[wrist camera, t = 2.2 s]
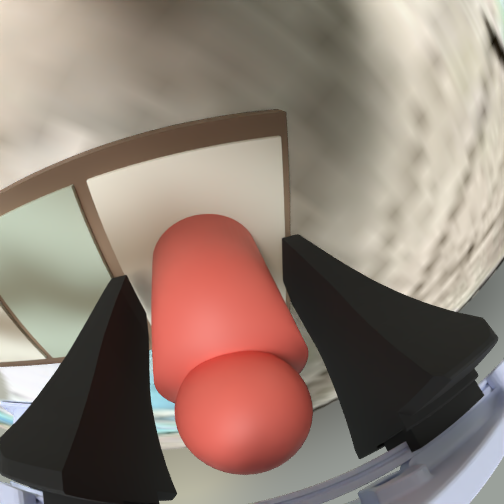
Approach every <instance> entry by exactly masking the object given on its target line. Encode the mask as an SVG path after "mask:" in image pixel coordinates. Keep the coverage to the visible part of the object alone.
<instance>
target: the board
mask: <svg viewBox="0 0 504 504" xmlns="http://www.w3.org/2000/svg"><path fill="white" fill-rule="evenodd" d="M200 214H218V215H223V216H226V217H229V218H232V219H234V220H236V221H238V222H239V223H240V224H242V225H243V226H244V227H245V228H246V229H247V230H248V231H249V233H250V234H251V236H252V237H253V239H254V241H255V243H256V245H257V247H258V249H259V251H260V253H261V255H262V257H263V259H264V261H265V263H266V265H267V267H268V269H269V271H270V273H271V275H272V277H273V279H274V281H275V283H276V285H277V287H278V289H279V291H280V293H281V295H282V297H283V299H284V301H285V303H286V305H287V307H288V309H289V311H290V297H289V295H288V293H287V290H286V288H285V285H284V283H283V269H282V238H284V237H288V236H290V190H289V160H288V137H287V118H286V112H285V111H282V110H278V109H274V110H264V111H255V112H246V113H239V114H232V115H225V116H219V117H213V118H207V119H202V120H196V121H191V122H187V123H182V124H177V125H173V126H169V127H164V128H160V129H156V130H152V131H149V132H145V133H141V134H138V135H134V136H131V137H127V138H124V139H121V140H118V141H114V142H111V143H108V144H105V145H102V146H99V147H96V148H94V149H91V150H88V151H85V152H83V153H80V154H77V155H75V156H72V157H70V158H67V159H65V160H62V161H60V162H58V163H55V164H53V165H51V166H48V167H46V168H44V169H42V170H40V171H38V172H35V173H33V174H31V175H29V176H27V177H25V178H23V179H21V180H19V181H17V182H15V183H13V184H12V185H10V186H8V187H6V188H4V189H2V190H1V191H0V367H9V366H28V365H41V364H53V363H62V361H63V360H64V358H65V357H66V355H67V353H68V352H69V350H70V349H71V347H72V345H73V344H74V342H75V340H76V338H77V337H78V335H79V333H80V332H81V330H82V328H83V327H84V325H85V323H86V321H87V320H88V318H89V316H90V314H91V312H92V311H93V309H94V307H95V305H96V304H97V302H98V300H99V298H100V297H101V295H102V293H103V291H104V290H105V288H106V286H107V285H108V283H109V282H110V280H111V279H112V278H115V277H119V276H123V275H127V276H128V278H129V281H130V283H131V285H132V287H133V289H134V291H135V293H136V295H137V296H138V298H139V300H140V302H141V304H142V306H143V308H144V310H145V312H146V314H147V323H148V333H149V350H152V328H151V290H152V260H153V252H154V249H155V246H156V244H157V242H158V240H159V238H160V237H161V236H162V234H163V233H164V232H165V231H166V230H167V229H168V228H169V227H171V226H172V225H173V224H175V223H177V222H178V221H180V220H182V219H185V218H187V217H191V216H194V215H200Z"/></svg>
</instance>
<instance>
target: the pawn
mask: <svg viewBox="0 0 504 504" xmlns="http://www.w3.org/2000/svg"><path fill="white" fill-rule="evenodd" d="M151 328H152V357H153V374H154V385H155V387H156V389H157V391H158V392H159V393H160V394H161V395H162V396H163V397H164V398H166V399H167V400H169V401H171V402H173V403H175V421H176V425H177V429H178V431H179V434H180V436H181V438H182V440H183V442H184V443H185V445H186V446H187V448H188V449H189V450H190V451H191V452H192V453H193V454H194V455H195V456H196V457H197V458H198V459H199V460H201V461H202V462H204V463H205V464H207V465H209V466H211V467H212V468H215V469H217V470H220V471H223V472H227V473H231V474H240V475H241V474H242V475H248V474H258V473H262V472H266V471H269V470H271V469H274V468H276V467H278V466H280V465H282V464H283V463H285V462H286V461H287V460H289V459H290V458H291V457H292V456H294V455H295V454H296V453H297V451H298V450H299V449H300V448H301V446H302V445H303V443H304V442H305V440H306V438H307V436H308V434H309V431H310V427H311V424H312V416H313V407H312V401H311V396H310V393H309V391H308V388H307V386H306V384H305V382H304V380H303V379H302V378H301V376H300V375H299V373H300V372H301V371H302V370H303V368H304V367H305V364H306V362H307V359H308V348H307V346H306V344H305V342H304V340H303V338H302V336H301V334H300V332H299V329H298V327H297V325H296V323H295V321H294V319H293V317H292V315H291V313H290V311H289V309H288V307H287V305H286V303H285V301H284V299H283V297H282V295H281V293H280V291H279V289H278V287H277V285H276V283H275V281H274V279H273V277H272V275H271V273H270V271H269V269H268V267H267V265H266V263H265V261H264V259H263V257H262V255H261V253H260V251H259V249H258V247H257V245H256V243H255V241H254V239H253V237H252V236H251V234H250V233H249V231H248V230H247V229H246V228H245V227H244V226H243V225H242V224H240V223H239V222H238V221H236V220H234V219H232V218H229V217H226V216H223V215H218V214H200V215H194V216H191V217H187V218H185V219H182V220H180V221H178V222H177V223H175V224H173V225H172V226H171V227H169V228H168V229H167V230H166V231H165V232H164V233H163V234H162V236H161V237H160V238H159V240H158V242H157V244H156V246H155V249H154V252H153V260H152V290H151Z"/></svg>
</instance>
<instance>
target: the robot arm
mask: <svg viewBox="0 0 504 504" xmlns="http://www.w3.org/2000/svg"><path fill="white" fill-rule="evenodd" d="M282 269H283V283H284V285H285V288H286V290H287V293H288V295H289V297H290V300H291V302H292V304H293V306H294V308H295V310H296V312H297V313H298V315H299V317H300V319H301V321H302V322H303V324H304V326H305V328H306V329H307V331H308V333H309V335H310V336H311V338H312V340H313V342H314V344H315V345H316V347H317V349H318V351H319V353H320V355H321V357H322V359H323V361H324V363H325V366H326V368H327V371H328V373H329V375H330V378H331V380H332V383H333V385H334V388H335V391H336V393H337V396H338V398H339V401H340V404H341V407H342V409H343V413H344V415H345V418H346V421H347V424H348V428H349V431H350V434H351V438H352V441H353V444H354V448H355V451H356V453H357V455H358V458H359V459H361V458H363V457H365V456H367V455H369V454H371V453H373V452H375V451H377V450H379V449H381V448H383V447H384V446H385V447H386V449H387V451H388V452H386V453H384V454H382V455H381V456H379V457H377V458H375V459H373V460H371V461H369V462H367V463H365V464H363V465H361V466H359V467H357V468H355V469H353V470H350V471H348V472H346V473H344V474H342V475H339V476H337V477H334V478H332V479H329V480H327V481H324V482H322V483H319V484H316V485H314V486H311V487H308V488H305V489H302V490H299V491H296V492H293V493H289V494H286V495H282V496H279V497H275V498H271V499H268V500H263V501H259V502H255V503H250V504H321V503H324V502H327V501H329V500H332V499H334V498H337V497H339V496H341V495H343V494H346V493H348V492H351V491H353V490H355V489H357V488H359V487H361V486H363V485H365V484H368V483H369V482H371V481H373V480H375V479H377V478H379V477H381V476H383V475H385V474H386V473H388V472H390V471H392V470H393V469H395V468H397V467H398V466H400V465H401V467H400V470H399V471H397V472H395V473H392V474H390V475H387V476H385V477H383V478H381V479H379V480H377V481H376V482H374V483H372V484H371V485H369V486H367V487H366V488H364V489H362V490H360V491H359V492H358V496H359V498H358V499H356V500H353V501H351V502H348V503H346V504H469V503H470V502H471V501H472V500H473V499H474V497H475V496H476V495H477V493H478V492H479V491H480V490H481V488H482V487H483V486H484V484H485V483H486V482H487V480H488V479H489V478H490V476H491V475H492V473H493V472H494V470H495V469H496V467H497V466H498V464H499V463H500V461H501V459H502V458H503V456H504V359H503V360H502V361H501V362H500V363H499V364H498V365H497V366H496V367H495V368H494V369H493V370H492V371H491V373H489V374H488V375H487V376H486V377H485V378H484V379H483V380H482V381H481V382H480V383H479V384H477V383H476V381H475V379H476V378H477V377H478V373H477V372H476V371H475V369H474V368H475V367H476V366H477V365H478V364H479V363H480V362H481V361H482V359H484V357H485V356H486V355H487V354H488V353H489V352H490V351H491V349H492V348H493V347H494V346H495V344H496V343H497V341H498V337H497V335H496V334H495V333H494V331H493V330H492V329H491V327H490V326H489V325H488V323H487V322H486V321H485V320H484V319H483V318H481V317H476V316H472V315H467V314H462V313H458V312H454V311H450V310H447V309H443V308H440V307H436V306H433V305H430V304H427V303H424V302H422V301H419V300H417V299H414V298H411V297H409V296H406V295H404V294H401V293H399V292H397V291H395V290H392V289H390V288H388V287H386V286H384V285H382V284H380V283H378V282H376V281H374V280H372V279H370V278H368V277H366V276H365V275H363V274H361V273H359V272H357V271H356V270H354V269H352V268H350V267H349V266H347V265H345V264H344V263H342V262H341V261H339V260H337V259H336V258H334V257H333V256H331V255H329V254H328V253H326V252H325V251H323V250H322V249H320V248H319V247H317V246H315V245H314V244H312V243H311V242H309V241H308V240H306V239H305V238H303V237H301V236H300V235H298V234H297V235H293V236H288V237H284V238H282ZM0 406H2V407H3V408H4V409H6V410H7V411H9V412H10V413H11V414H13V415H14V418H13V425H12V426H11V427H10V428H9V429H8V430H7V431H6V432H5V433H4V434H3V435H2V436H1V437H0V474H1V475H2V476H5V477H7V478H9V479H11V480H13V481H16V482H18V483H21V484H24V485H27V486H29V487H30V488H29V487H25V486H23V485H20V484H17V483H15V482H12V481H10V484H9V483H7V482H1V481H0V502H1V504H159V501H166V500H173V499H174V497H175V496H176V495H177V492H176V490H175V487H174V485H173V482H172V480H171V477H170V474H169V472H168V469H167V466H166V463H165V460H164V456H163V453H162V450H161V446H160V442H159V438H158V434H157V430H156V426H155V421H154V416H153V410H152V405H151V396H150V376H149V333H148V323H147V314H146V312H145V310H144V308H143V306H142V304H141V302H140V300H139V298H138V296H137V295H136V293H135V291H134V289H133V287H132V285H131V283H130V281H129V278H128V276H127V275H123V276H119V277H115V278H112V279H111V280H110V282H109V283H108V285H107V286H106V288H105V290H104V291H103V293H102V295H101V297H100V298H99V300H98V302H97V304H96V305H95V307H94V309H93V311H92V312H91V314H90V316H89V318H88V320H87V321H86V323H85V325H84V327H83V328H82V330H81V332H80V333H79V335H78V337H77V338H76V340H75V342H74V344H73V345H72V347H71V349H70V350H69V352H68V353H67V355H66V357H65V358H64V360H63V361H62V363H61V364H60V366H59V367H58V369H57V370H56V372H55V373H54V375H53V376H52V377H51V379H50V380H49V381H48V383H47V384H46V385H45V387H44V388H43V390H42V391H41V392H40V394H39V395H38V396H37V398H36V399H35V400H34V401H33V403H32V404H24V403H11V402H0Z"/></svg>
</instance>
